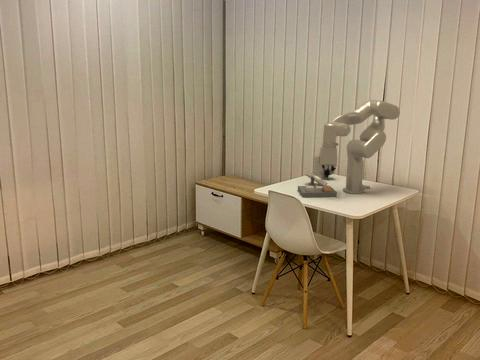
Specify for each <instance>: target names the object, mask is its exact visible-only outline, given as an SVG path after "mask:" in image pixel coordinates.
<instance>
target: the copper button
mask: <svg viewBox="0 0 480 360" xmlns="http://www.w3.org/2000/svg"><path fill="white" fill-rule="evenodd" d="M321 186H322V185H321ZM332 188H333V187H332V186H331V185H326V186H322V191H323V192H331V190H332Z"/></svg>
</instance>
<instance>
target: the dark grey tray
mask: <svg viewBox="0 0 480 360" xmlns="http://www.w3.org/2000/svg"><path fill="white" fill-rule="evenodd" d="M306 186H307V185H297V192H298V193H299V195H300V196H301V198H303V199H305V198H307V199H308V198H311V199H312V198H313V199H315V198H319V199H321V198H323V199H327V198H331V199H332V198H337V197H338V193H337V191H336V190H335V189H334V188H333V187H332V190H331V192H323V191H322V185H315V186H316V188H315V190H314V192H306V191H305V189H306Z"/></svg>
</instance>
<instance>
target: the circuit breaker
mask: <svg viewBox="0 0 480 360" xmlns="http://www.w3.org/2000/svg"><path fill="white" fill-rule="evenodd" d="M312 159H313V162H312V163H314V167H313V171H312V173H313V174H314V175H316V176H318V177H319V178H320V179H322V180H324V181H325V180H326V178H327V179H328V178H329V177H325V175H324V168H323V167H320V166H318V164H319V162H318V160H319V154H318V155H315V156H313V158H312ZM327 168H328V165H327ZM335 170H337V168H336V167H333V168H332V169H331V170H330V175H329V176H331V175H334V174H335Z"/></svg>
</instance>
